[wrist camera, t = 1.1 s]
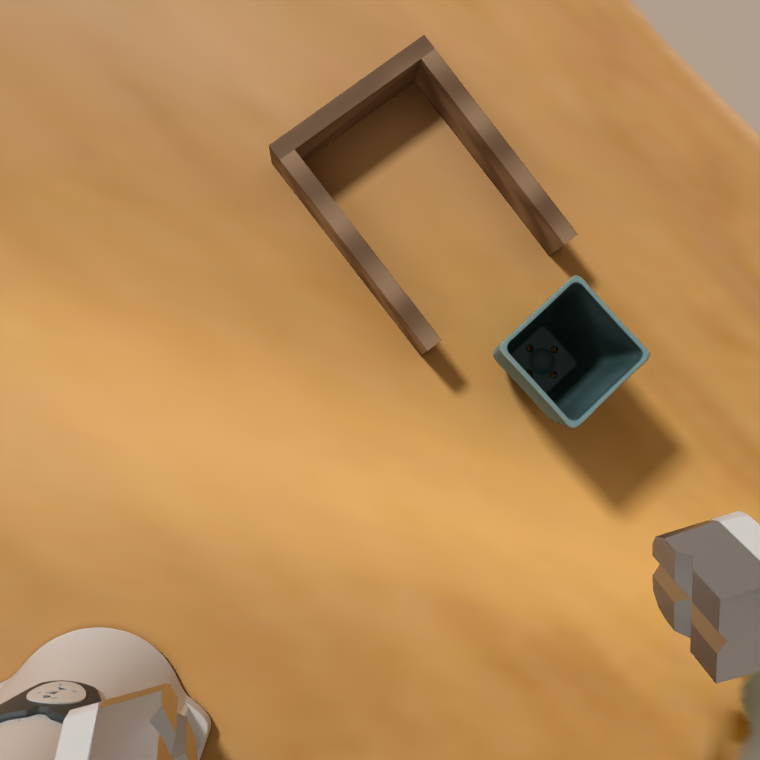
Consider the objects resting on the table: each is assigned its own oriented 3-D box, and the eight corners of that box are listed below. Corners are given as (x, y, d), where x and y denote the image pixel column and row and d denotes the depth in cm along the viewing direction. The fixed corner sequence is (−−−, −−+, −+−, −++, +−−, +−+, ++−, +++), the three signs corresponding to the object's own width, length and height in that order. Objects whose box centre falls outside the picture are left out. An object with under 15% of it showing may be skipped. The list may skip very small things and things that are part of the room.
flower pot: (471, 358, 63) (496, 347, 54) (541, 293, 64) (577, 271, 55) (537, 430, 63) (574, 431, 54) (606, 364, 64) (653, 354, 55)
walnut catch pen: (561, 246, 64) (578, 234, 60) (420, 355, 62) (427, 350, 58) (417, 59, 64) (424, 34, 60) (271, 163, 62) (268, 145, 58)
